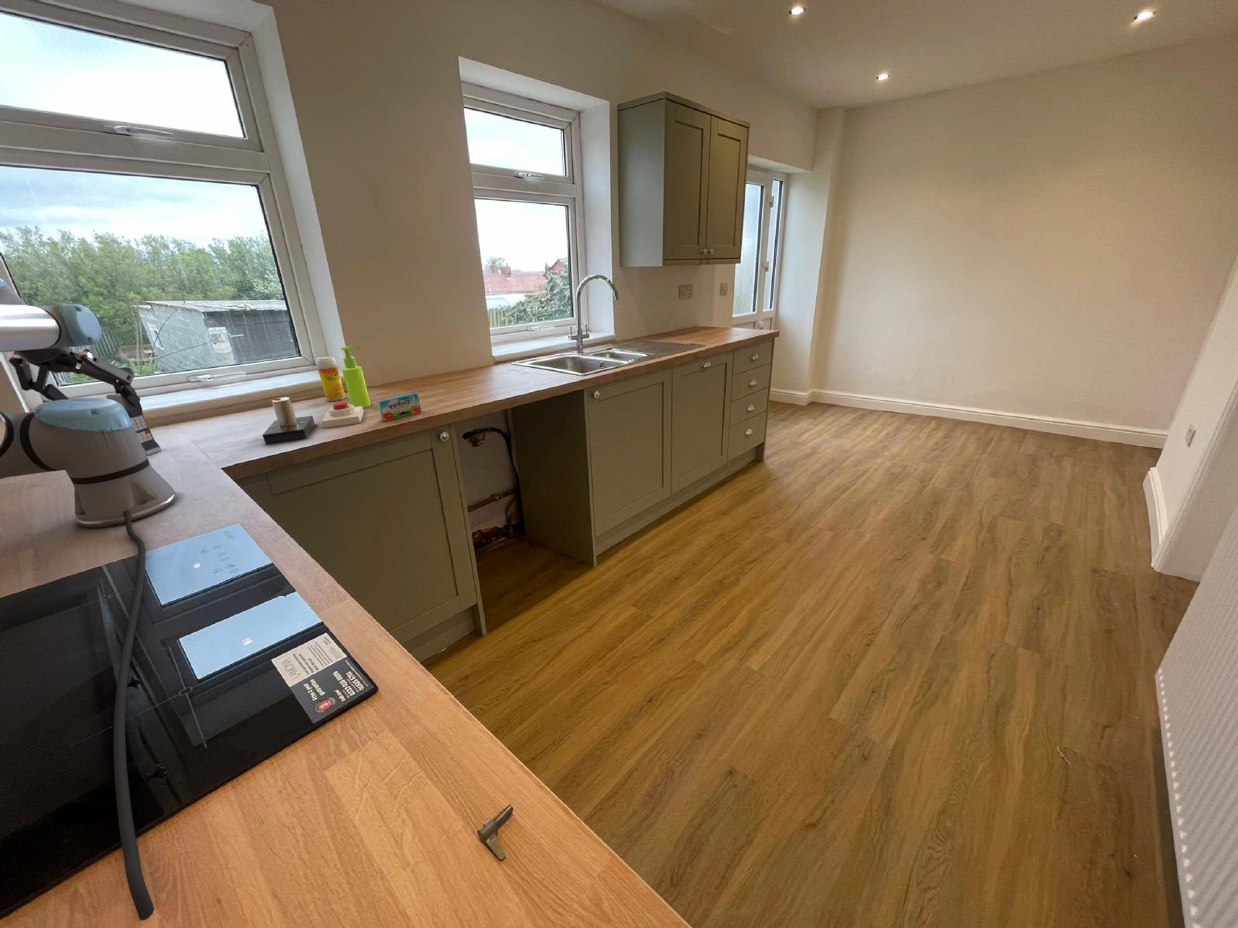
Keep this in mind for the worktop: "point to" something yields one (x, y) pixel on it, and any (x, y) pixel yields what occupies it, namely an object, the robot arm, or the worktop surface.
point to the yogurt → (399, 406)
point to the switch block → (343, 416)
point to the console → (289, 431)
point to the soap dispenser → (354, 380)
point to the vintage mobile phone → (138, 424)
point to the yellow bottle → (330, 378)
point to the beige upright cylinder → (284, 411)
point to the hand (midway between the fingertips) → (103, 405)
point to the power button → (340, 405)
